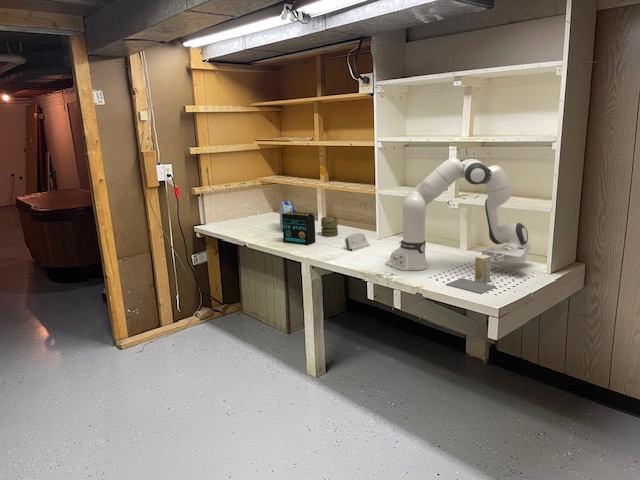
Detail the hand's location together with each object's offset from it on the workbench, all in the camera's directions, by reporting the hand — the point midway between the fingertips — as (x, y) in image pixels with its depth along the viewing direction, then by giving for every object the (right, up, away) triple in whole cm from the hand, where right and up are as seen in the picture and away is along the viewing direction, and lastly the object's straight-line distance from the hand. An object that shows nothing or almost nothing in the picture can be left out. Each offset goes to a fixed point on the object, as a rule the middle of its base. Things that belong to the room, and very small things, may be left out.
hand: (495, 258), depth 230 cm
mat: (-15, -12, -11) cm, 22 cm away
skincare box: (-8, -11, -5) cm, 14 cm away
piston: (-78, +12, +102) cm, 129 cm away
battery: (-98, +7, +83) cm, 129 cm away
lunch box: (-108, +17, +125) cm, 166 cm away
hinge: (-62, +4, +65) cm, 90 cm away
